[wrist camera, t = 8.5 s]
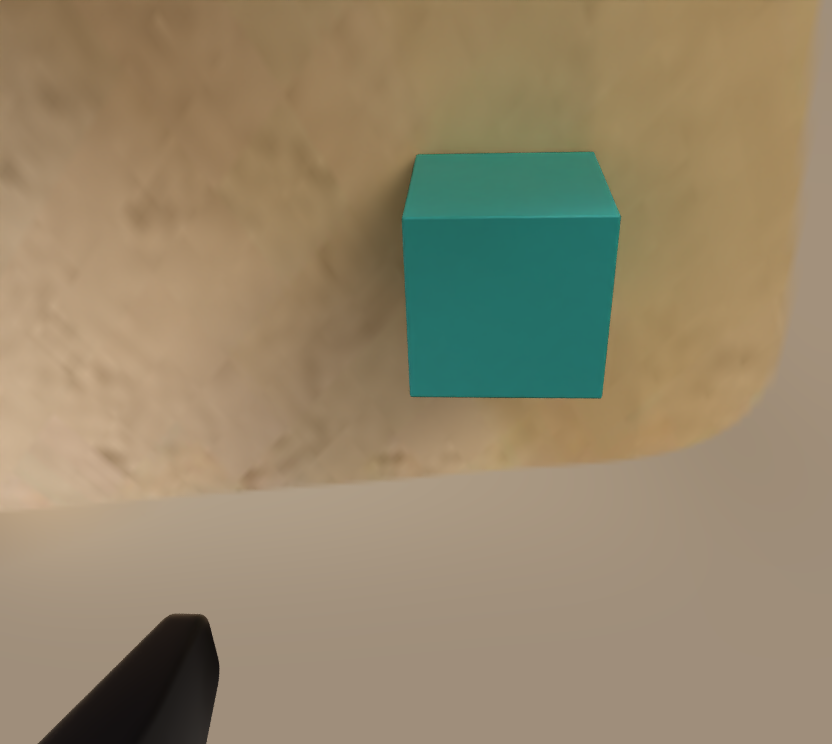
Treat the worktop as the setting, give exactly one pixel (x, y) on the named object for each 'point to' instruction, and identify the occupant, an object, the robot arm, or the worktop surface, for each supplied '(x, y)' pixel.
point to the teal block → (508, 274)
